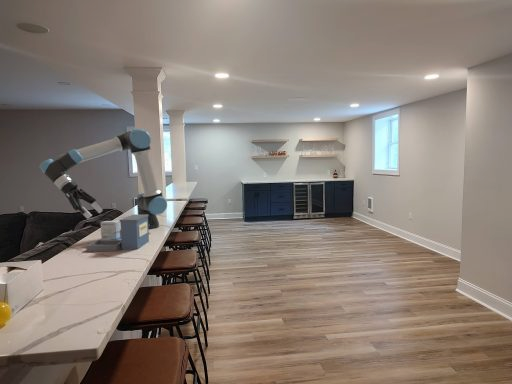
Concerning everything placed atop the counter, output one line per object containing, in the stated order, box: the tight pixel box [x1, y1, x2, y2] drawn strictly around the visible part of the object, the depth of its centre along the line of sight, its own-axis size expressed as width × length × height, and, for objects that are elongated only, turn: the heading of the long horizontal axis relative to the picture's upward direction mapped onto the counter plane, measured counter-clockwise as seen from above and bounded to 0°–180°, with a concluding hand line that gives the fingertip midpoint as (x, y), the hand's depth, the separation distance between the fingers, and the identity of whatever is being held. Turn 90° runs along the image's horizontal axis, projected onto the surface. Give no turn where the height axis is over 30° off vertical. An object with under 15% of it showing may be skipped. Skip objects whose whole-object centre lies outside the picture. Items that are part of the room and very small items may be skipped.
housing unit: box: [119, 214, 150, 250], centre depth 166 cm, size 17×9×15 cm, turn 179°
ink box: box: [100, 220, 121, 240], centre depth 173 cm, size 9×5×12 cm, turn 84°
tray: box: [86, 239, 122, 252], centre depth 161 cm, size 11×15×3 cm
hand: (95, 214), depth 170 cm, fingers open, 13 cm apart
